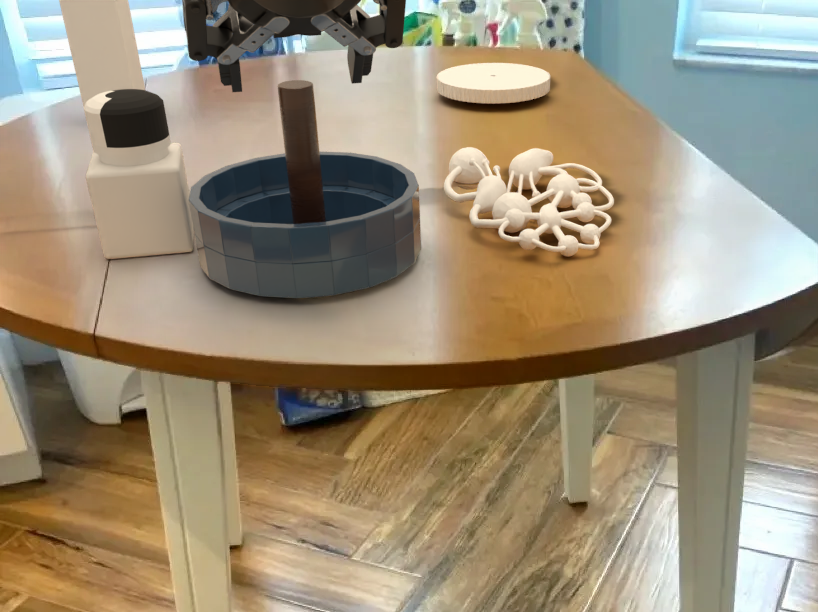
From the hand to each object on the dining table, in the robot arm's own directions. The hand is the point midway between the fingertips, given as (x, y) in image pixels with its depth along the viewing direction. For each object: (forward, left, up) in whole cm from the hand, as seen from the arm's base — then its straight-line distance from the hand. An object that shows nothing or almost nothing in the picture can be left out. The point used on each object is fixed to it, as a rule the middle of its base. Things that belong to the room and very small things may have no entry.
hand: (295, 76), depth 69 cm
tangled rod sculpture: (+20, +7, -15) cm, 26 cm away
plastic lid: (+24, +48, -15) cm, 56 cm away
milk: (-21, +47, -15) cm, 54 cm away
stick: (0, +1, -14) cm, 14 cm away
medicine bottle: (-14, +7, -15) cm, 21 cm away
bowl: (0, +1, -14) cm, 14 cm away
